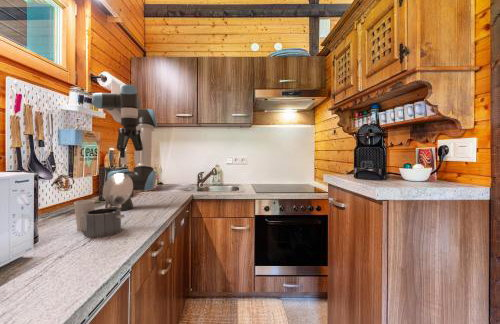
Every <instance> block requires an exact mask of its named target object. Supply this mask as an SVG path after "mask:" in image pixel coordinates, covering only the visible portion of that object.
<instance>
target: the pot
mask: <svg viewBox="0 0 500 324" xmlns="http://www.w3.org/2000/svg"><path fill="white" fill-rule="evenodd" d="M110 207H117V208H105V207H104V208H96V209H95V208H94V210H90V211H87V212H85V213H83V214H81V217H84V230H83V235H84V237H86V238H90V237H91V239H95V238H96V239H97V237H98V238H104V237H105V238H106V236H107V237H109V236H114V235H117V234H119V233H121V231H122V219H123V218H125V214H121V213H122V211H121V209H120V208H118V207H119V206H110Z"/></svg>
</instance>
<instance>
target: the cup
mask: <svg viewBox="0 0 500 324" xmlns="http://www.w3.org/2000/svg"><path fill="white" fill-rule="evenodd" d="M95 203H96V200H94V199H84V200H77V201H74V202H73V205H74V206H73V207H74V214H75V223H76V230H77V231H82V232H84V217H81V214H83V213H85V212H87V211H90V210H95V208H96V207H95Z"/></svg>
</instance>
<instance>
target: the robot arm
mask: <svg viewBox="0 0 500 324" xmlns="http://www.w3.org/2000/svg"><path fill="white" fill-rule="evenodd" d="M119 88H120V90H119V93H114V92H113V93H112V92H95V93H93V94H92V100H91V101H92V105H93V107H94V108H96V109H104V110H105V111H106V112H107V113H109V114H110V115H111V116H112V119H113V120H114V121H115V122H116V123H118V124H120V125H121V126H122V127H118V135H117V141H116V147H115V148H116V150H117V151H118V152H119V157H120V165H121V166H125V165H126V166H127V165H128V155H127V154H128V153H127V152H128V151H127V150H126V148H127V146H128V142H129V140H131V143H132V145H133V148H134V151H133V157H134V165H135V166H134V167H133V169H132V170H133V171H130V169H129V168H127V169H119V170H113V171H108V173H107V179H106V181H107V180H108V179H109V178H110V177H111V176H113V175H115V174H118V173H123V174H126V175H128V176H129V177H130V178H131V179H132V182H133V191H132V192H135V191H136V192H137V191H145V192H146V191H151V190H153V189H154V188H155V187H156V186H155V185H156V182H157V181H156V180H157V171H156V170H155V168H154V167H153V166H152V146H153V145H152V143H153V142H152V141H153V139H152V138H153V136H152V135H153V132H154V131H155V128H156V127H158V124H157V115H156V112H155V109H152V108H142V104H143V103H142V100H141V98H140V96H139V95H138V93H139V92H138V88H137V86H136V85H133V84H121V85H120V86H119ZM105 202H106V201H105ZM121 205H122V206H121V208H120V209H121V212H123V211H128V210H131V209H133V208H134V202H133V200H132V198H131V196H130V198H129V199H128V200H127V201H126V202H124V203H123V204H121ZM107 206H108V203H107V202H106V203H105V206H104V208H108V207H107ZM110 206H119V205H110ZM110 208H117V207H110Z"/></svg>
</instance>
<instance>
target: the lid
mask: <svg viewBox="0 0 500 324" xmlns="http://www.w3.org/2000/svg"><path fill="white" fill-rule="evenodd" d="M107 179H108V178H107ZM107 179H106V181H105V183H104V185H103V187H102V197H103V200H104V201H105V202H107V203H108V206H107V207H108V208H110V205H119V207H118V208H121V206H122V205H121V204H123V203H124V202H126V201H127V200H128V199H129V198H130V197H131V196H132V194H133V192H134V191H133V182H132V179H131V178H130V177H129V176H128V175H126V174H123V173H118V174H115V175H113V176H111V177H110V178H109V179H108V180H107Z"/></svg>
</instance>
